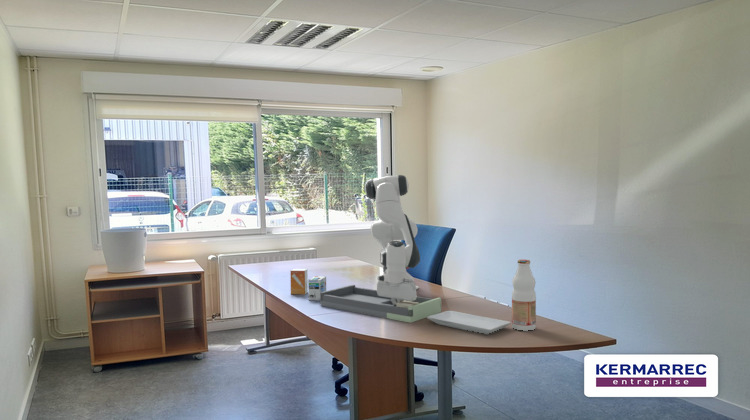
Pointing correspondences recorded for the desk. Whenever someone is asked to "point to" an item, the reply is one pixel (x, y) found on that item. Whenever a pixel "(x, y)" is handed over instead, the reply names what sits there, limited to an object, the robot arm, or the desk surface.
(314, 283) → the light bulb box
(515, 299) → the fruit juice
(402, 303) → the block
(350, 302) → the tray
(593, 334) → the desk surface
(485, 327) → the tray
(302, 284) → the small box
